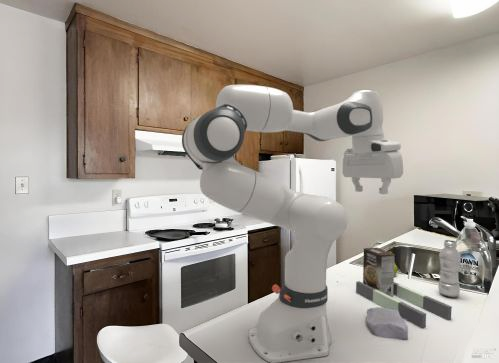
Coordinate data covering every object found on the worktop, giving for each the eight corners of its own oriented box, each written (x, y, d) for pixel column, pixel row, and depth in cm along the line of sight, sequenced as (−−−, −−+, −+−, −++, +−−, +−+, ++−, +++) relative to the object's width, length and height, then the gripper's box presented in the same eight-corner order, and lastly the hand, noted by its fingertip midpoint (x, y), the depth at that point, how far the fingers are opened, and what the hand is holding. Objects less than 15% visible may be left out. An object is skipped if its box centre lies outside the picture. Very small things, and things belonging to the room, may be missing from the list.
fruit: (394, 279, 119) (394, 250, 118) (379, 274, 123) (379, 247, 123) (399, 275, 123) (400, 248, 122) (385, 271, 127) (385, 245, 127)
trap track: (422, 328, 81) (422, 314, 81) (355, 292, 105) (356, 281, 105) (451, 319, 86) (451, 306, 86) (381, 286, 110) (381, 276, 110)
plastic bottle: (464, 297, 101) (466, 242, 100) (451, 300, 99) (453, 244, 98) (446, 290, 107) (447, 238, 106) (433, 293, 105) (435, 240, 104)
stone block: (373, 343, 77) (412, 341, 75) (369, 326, 78) (408, 322, 76) (364, 322, 89) (398, 319, 87) (361, 307, 89) (395, 304, 87)
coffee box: (361, 289, 108) (362, 248, 107) (375, 287, 110) (376, 246, 109) (379, 300, 99) (380, 255, 98) (394, 298, 101) (395, 253, 100)
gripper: (336, 149, 92) (339, 191, 93) (388, 144, 74) (391, 196, 75) (351, 148, 95) (353, 189, 96) (406, 143, 76) (408, 193, 77)
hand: (370, 192), depth 85 cm, fingers open, 8 cm apart
